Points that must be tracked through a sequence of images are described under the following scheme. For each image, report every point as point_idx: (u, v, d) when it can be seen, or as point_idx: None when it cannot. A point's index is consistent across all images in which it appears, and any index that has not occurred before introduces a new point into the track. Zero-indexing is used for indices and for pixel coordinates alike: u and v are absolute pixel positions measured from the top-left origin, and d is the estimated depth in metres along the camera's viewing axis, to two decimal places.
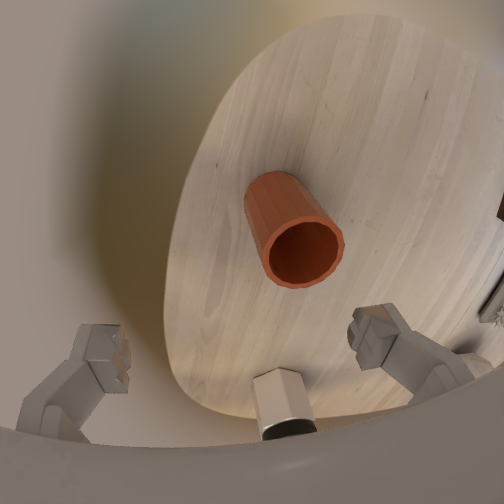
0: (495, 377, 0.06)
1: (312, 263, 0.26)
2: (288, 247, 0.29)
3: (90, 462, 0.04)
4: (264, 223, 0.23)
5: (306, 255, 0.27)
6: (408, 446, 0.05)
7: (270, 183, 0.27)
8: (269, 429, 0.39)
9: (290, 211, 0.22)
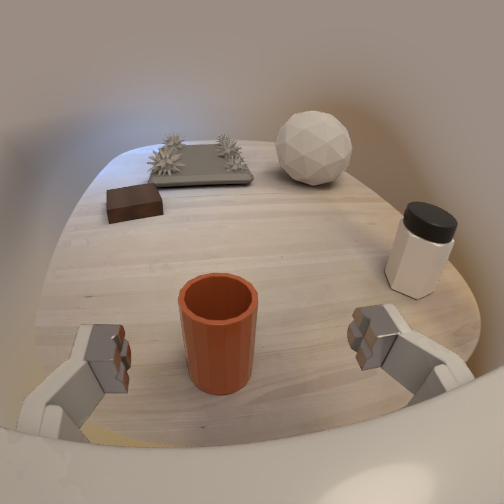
0: (495, 377, 0.06)
1: (235, 296, 0.28)
2: None
3: (89, 462, 0.04)
4: (210, 341, 0.23)
5: (236, 307, 0.29)
6: (408, 446, 0.05)
7: (194, 370, 0.27)
8: (435, 240, 0.36)
9: (187, 324, 0.24)
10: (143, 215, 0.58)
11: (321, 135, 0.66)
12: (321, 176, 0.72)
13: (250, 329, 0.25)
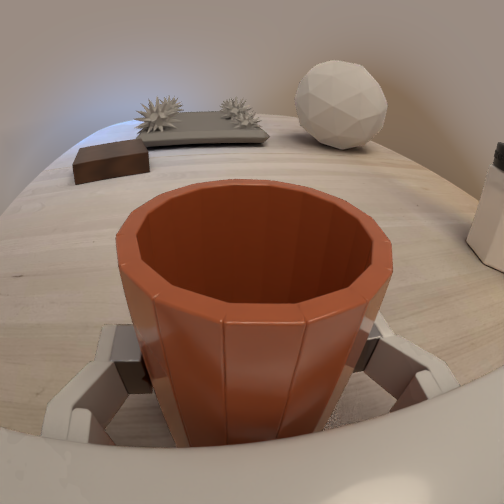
0: (495, 377, 0.06)
1: (293, 246, 0.10)
2: None
3: (90, 462, 0.04)
4: (233, 393, 0.06)
5: (291, 279, 0.11)
6: (408, 446, 0.05)
7: (182, 445, 0.09)
8: None
9: (141, 324, 0.06)
10: (122, 172, 0.40)
11: (353, 83, 0.48)
12: (354, 135, 0.54)
13: (368, 335, 0.07)
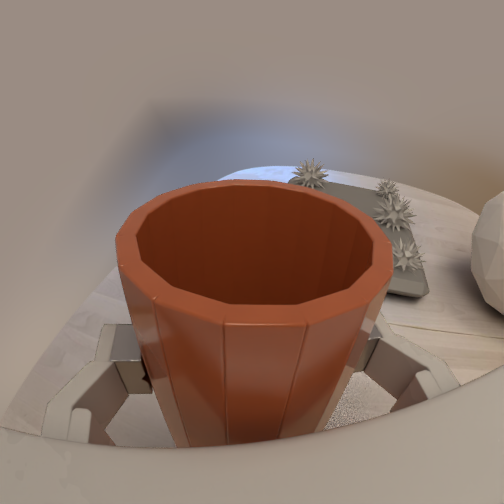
0: (495, 377, 0.06)
1: (293, 246, 0.10)
2: None
3: (90, 462, 0.04)
4: (233, 394, 0.06)
5: (291, 279, 0.11)
6: (408, 446, 0.05)
7: (182, 445, 0.09)
8: None
9: (141, 325, 0.06)
10: None
11: None
12: None
13: (368, 336, 0.07)
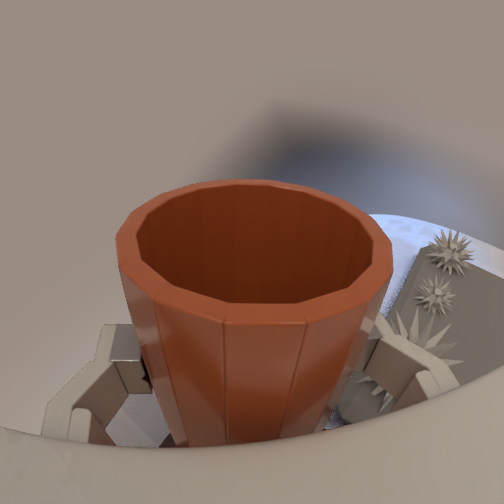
0: (495, 377, 0.06)
1: (293, 246, 0.10)
2: None
3: (90, 462, 0.04)
4: (233, 393, 0.06)
5: (291, 279, 0.11)
6: (408, 446, 0.05)
7: (182, 445, 0.09)
8: None
9: (141, 325, 0.06)
10: None
11: None
12: None
13: (368, 335, 0.07)
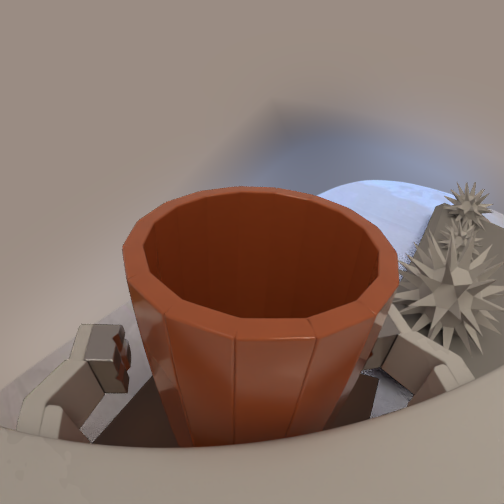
0: (495, 377, 0.06)
1: (298, 253, 0.10)
2: None
3: (90, 462, 0.04)
4: (242, 404, 0.06)
5: (296, 286, 0.11)
6: (408, 446, 0.05)
7: None
8: None
9: (150, 337, 0.06)
10: None
11: None
12: None
13: (373, 344, 0.07)
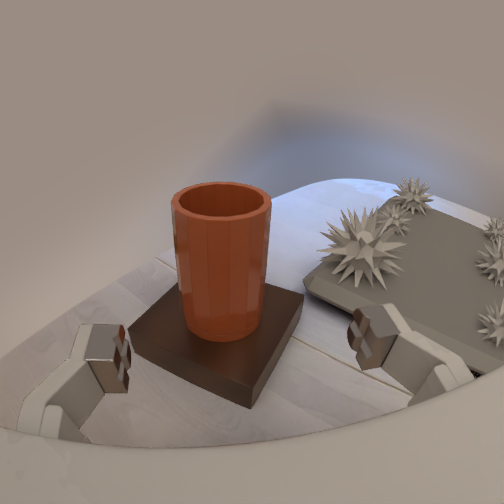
0: (495, 377, 0.06)
1: (242, 211, 0.23)
2: None
3: (90, 462, 0.04)
4: (210, 250, 0.18)
5: None
6: (408, 446, 0.05)
7: (189, 306, 0.22)
8: None
9: (180, 229, 0.19)
10: (203, 385, 0.22)
11: None
12: None
13: (262, 238, 0.19)
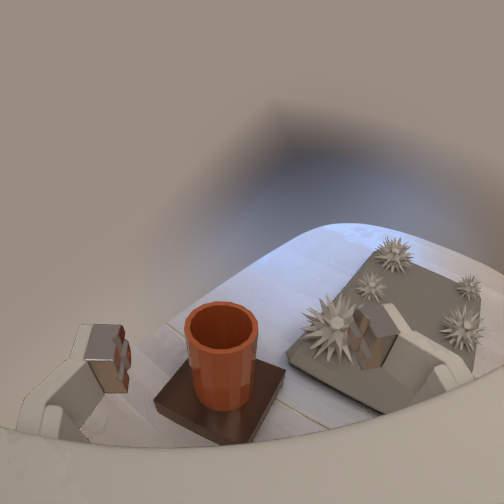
0: (495, 377, 0.06)
1: (237, 322, 0.30)
2: None
3: (90, 462, 0.04)
4: (214, 367, 0.25)
5: (237, 332, 0.30)
6: (408, 446, 0.05)
7: (199, 390, 0.29)
8: None
9: (193, 352, 0.25)
10: (210, 438, 0.29)
11: None
12: None
13: (251, 355, 0.26)
